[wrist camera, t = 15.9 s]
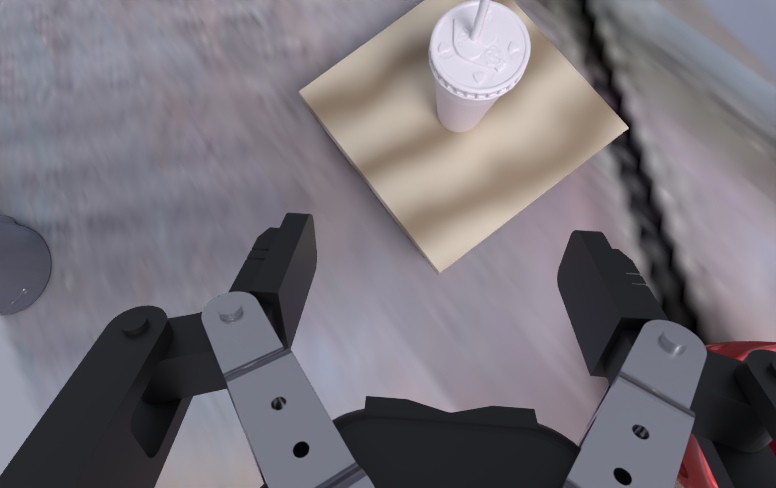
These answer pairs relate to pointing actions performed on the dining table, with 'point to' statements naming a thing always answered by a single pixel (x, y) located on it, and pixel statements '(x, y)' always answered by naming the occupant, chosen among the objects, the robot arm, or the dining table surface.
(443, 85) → the smoothie
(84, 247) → the dining table surface
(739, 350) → the plant pot
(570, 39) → the dining table surface
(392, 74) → the low wooden platform
